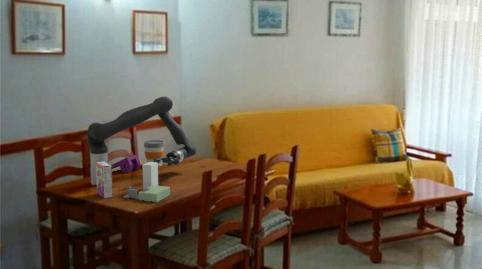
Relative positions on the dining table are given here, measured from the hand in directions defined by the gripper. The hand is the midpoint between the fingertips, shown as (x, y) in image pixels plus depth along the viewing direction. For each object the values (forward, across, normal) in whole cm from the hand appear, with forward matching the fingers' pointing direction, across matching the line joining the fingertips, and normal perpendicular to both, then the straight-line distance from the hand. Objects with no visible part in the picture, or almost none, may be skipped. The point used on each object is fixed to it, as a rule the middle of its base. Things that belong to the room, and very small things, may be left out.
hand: (161, 163), depth 292 cm
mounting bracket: (-22, -38, +12) cm, 45 cm away
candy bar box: (+30, -16, +11) cm, 36 cm away
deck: (+24, +4, +11) cm, 27 cm away
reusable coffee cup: (-40, -26, +12) cm, 49 cm away
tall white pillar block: (+12, 0, +11) cm, 16 cm away
